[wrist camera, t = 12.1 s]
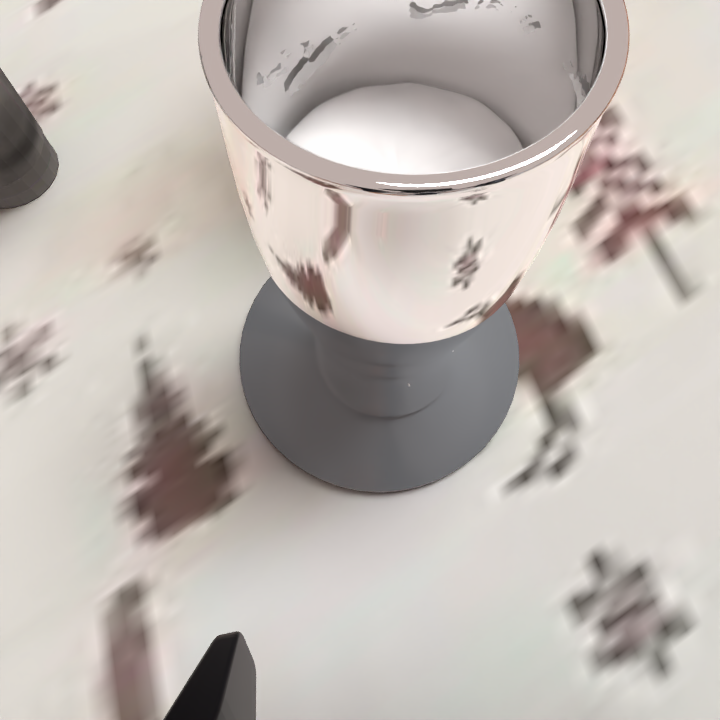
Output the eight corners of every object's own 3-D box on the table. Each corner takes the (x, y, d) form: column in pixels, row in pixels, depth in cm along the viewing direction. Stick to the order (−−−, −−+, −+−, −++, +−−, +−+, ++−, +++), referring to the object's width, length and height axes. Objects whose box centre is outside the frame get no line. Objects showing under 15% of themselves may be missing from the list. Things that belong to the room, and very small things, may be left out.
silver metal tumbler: (274, 380, 22) (86, 85, 7) (354, 253, 23) (328, -177, 9) (421, 460, 20) (535, 291, 6) (493, 319, 22) (708, -58, 8)
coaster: (462, 541, 20) (464, 541, 19) (193, 424, 22) (189, 421, 21) (548, 286, 23) (553, 280, 23) (311, 202, 25) (310, 195, 25)
